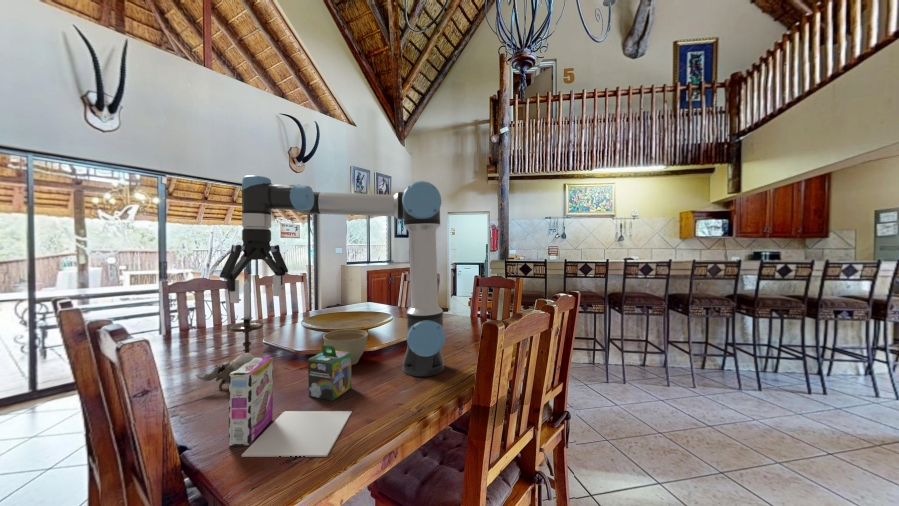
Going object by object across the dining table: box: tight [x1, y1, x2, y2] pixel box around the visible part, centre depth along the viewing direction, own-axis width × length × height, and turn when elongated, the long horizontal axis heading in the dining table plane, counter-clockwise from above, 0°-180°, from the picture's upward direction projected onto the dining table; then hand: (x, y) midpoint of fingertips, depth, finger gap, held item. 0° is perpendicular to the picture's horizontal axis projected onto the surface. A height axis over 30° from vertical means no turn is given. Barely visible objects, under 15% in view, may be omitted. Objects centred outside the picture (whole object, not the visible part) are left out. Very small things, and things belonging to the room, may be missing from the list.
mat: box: [241, 410, 353, 458], centre depth 77 cm, size 18×18×1 cm
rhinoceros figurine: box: [196, 352, 256, 391], centre depth 103 cm, size 8×14×15 cm
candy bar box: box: [228, 356, 274, 447], centre depth 77 cm, size 11×5×16 cm, turn 5°
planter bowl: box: [322, 328, 369, 366], centre depth 123 cm, size 16×16×11 cm
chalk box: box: [307, 344, 353, 402], centre depth 98 cm, size 9×9×15 cm
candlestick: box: [228, 270, 264, 358], centre depth 122 cm, size 11×11×35 cm
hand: (257, 299), depth 97 cm, fingers open, 13 cm apart
